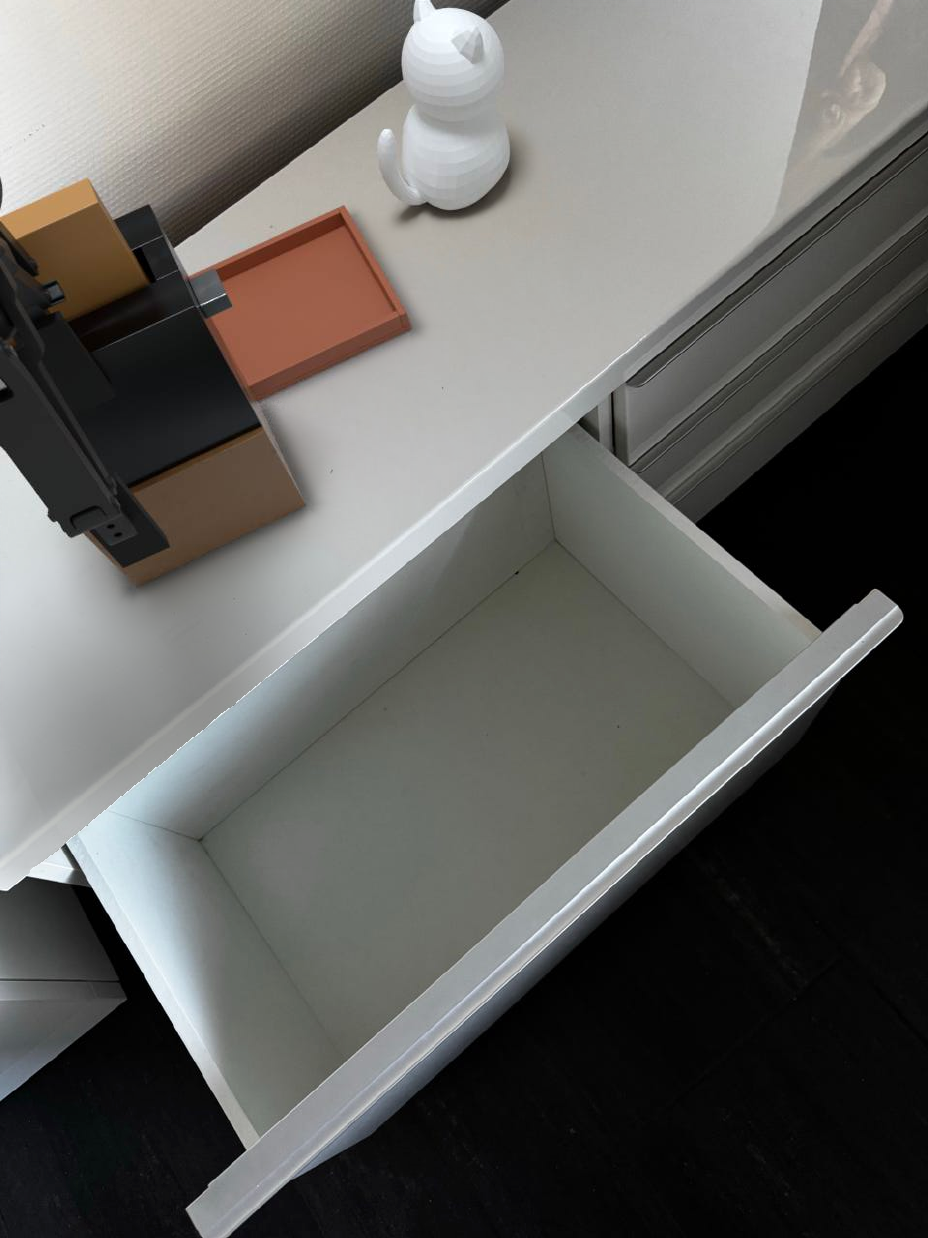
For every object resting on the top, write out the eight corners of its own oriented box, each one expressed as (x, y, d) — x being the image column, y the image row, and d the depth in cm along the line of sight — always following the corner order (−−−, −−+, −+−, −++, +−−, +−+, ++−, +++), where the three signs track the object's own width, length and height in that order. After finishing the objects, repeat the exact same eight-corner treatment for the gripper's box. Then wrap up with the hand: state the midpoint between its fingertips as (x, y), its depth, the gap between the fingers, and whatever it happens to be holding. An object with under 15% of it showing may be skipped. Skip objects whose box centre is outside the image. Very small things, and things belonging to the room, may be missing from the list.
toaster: (136, 587, 77) (-33, 418, 57) (99, 485, 81) (-70, 295, 61) (328, 495, 78) (228, 298, 58) (282, 400, 82) (173, 184, 62)
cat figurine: (542, 168, 88) (528, 3, 74) (433, 255, 86) (398, 102, 72) (472, 119, 91) (447, -47, 78) (366, 201, 89) (320, 45, 75)
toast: (21, 394, 62) (-80, 282, 53) (13, 370, 63) (-88, 255, 54) (172, 324, 63) (98, 201, 54) (162, 301, 64) (87, 176, 54)
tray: (239, 410, 82) (230, 394, 80) (188, 297, 88) (178, 280, 86) (411, 329, 83) (406, 312, 81) (350, 222, 88) (344, 204, 86)
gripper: (16, 311, 33) (244, 611, 52) (-101, -62, 43) (126, 307, 63) (-207, 408, 32) (107, 673, 52) (-272, 8, 42) (11, 357, 62)
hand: (118, 473), depth 57 cm, fingers open, 11 cm apart
